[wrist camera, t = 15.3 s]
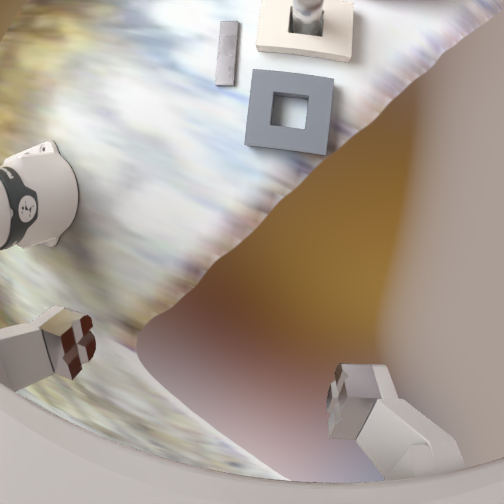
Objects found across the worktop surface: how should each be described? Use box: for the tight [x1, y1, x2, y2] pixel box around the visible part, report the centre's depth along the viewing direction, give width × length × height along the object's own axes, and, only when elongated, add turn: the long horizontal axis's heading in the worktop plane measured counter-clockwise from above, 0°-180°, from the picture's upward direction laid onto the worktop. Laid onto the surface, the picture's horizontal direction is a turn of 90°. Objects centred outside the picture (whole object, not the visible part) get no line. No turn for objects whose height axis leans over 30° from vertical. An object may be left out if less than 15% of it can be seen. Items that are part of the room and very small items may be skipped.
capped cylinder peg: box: [293, 0, 324, 36], centre depth 25 cm, size 3×3×15 cm
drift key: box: [215, 21, 239, 86], centre depth 35 cm, size 10×2×1 cm, turn 177°
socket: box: [244, 69, 334, 155], centre depth 35 cm, size 10×10×2 cm
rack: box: [256, 0, 353, 63], centre depth 31 cm, size 12×9×2 cm
